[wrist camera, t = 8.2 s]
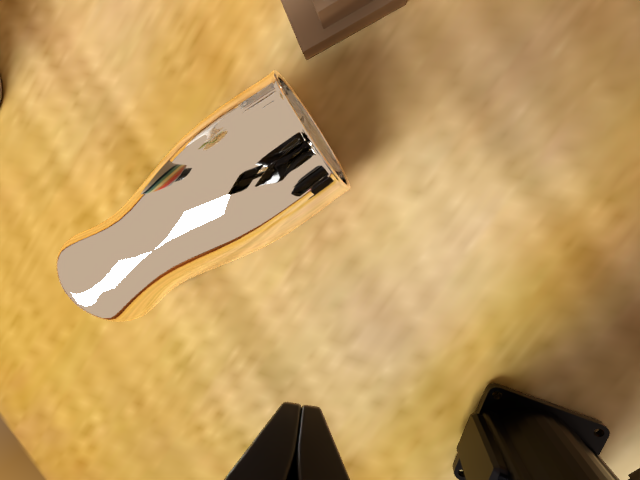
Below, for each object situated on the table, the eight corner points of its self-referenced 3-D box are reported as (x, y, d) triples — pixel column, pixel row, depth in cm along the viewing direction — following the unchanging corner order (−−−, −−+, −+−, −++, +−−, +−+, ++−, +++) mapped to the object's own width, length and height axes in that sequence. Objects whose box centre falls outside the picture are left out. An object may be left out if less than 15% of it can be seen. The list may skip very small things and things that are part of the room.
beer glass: (178, 307, 23) (359, 194, 19) (87, 351, 16) (341, 190, 12) (129, 223, 23) (300, 94, 19) (18, 231, 16) (248, 35, 12)
